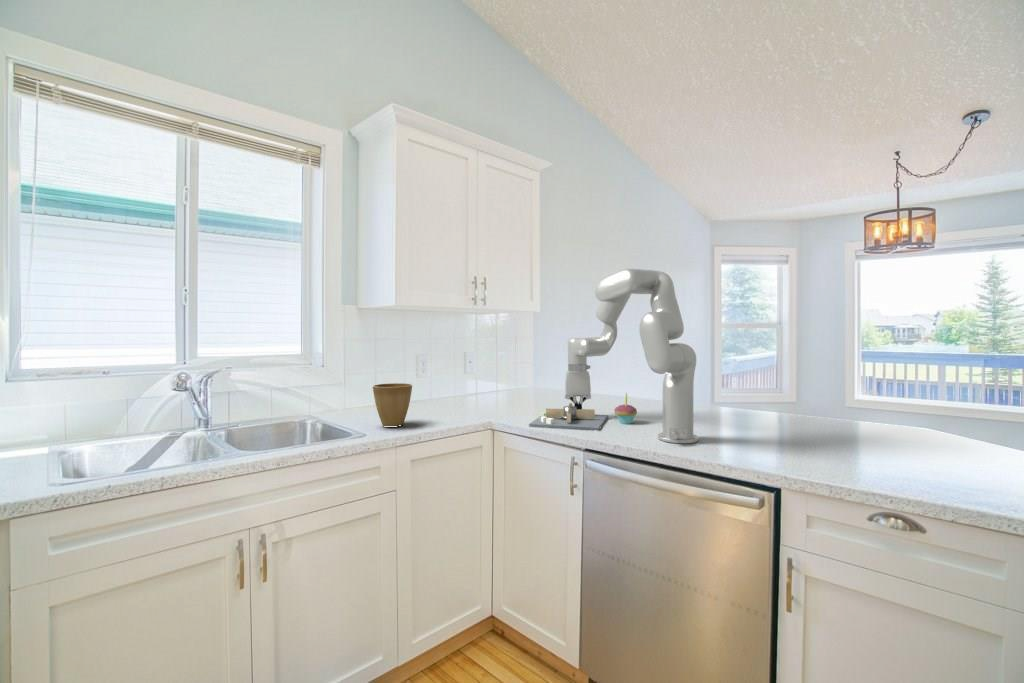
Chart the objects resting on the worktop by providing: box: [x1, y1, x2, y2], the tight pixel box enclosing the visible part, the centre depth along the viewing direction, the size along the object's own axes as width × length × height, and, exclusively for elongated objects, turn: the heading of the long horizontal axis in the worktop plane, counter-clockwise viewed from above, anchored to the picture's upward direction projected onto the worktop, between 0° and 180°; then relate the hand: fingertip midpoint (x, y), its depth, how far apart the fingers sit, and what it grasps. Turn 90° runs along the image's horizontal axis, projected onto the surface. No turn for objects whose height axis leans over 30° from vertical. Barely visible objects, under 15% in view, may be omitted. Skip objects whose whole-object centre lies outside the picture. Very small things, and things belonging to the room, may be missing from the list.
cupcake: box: [614, 392, 638, 425], centre depth 181 cm, size 9×8×12 cm
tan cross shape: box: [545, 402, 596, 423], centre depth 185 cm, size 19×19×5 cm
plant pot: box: [372, 382, 413, 427], centre depth 181 cm, size 15×15×16 cm
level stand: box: [528, 410, 609, 431], centre depth 185 cm, size 26×26×3 cm
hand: (578, 413), depth 191 cm, fingers closed
